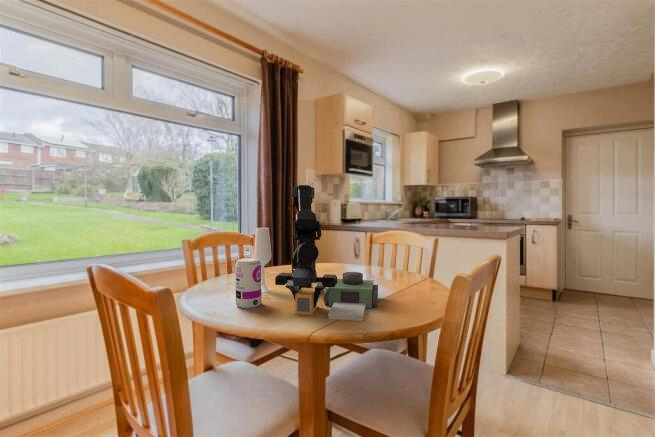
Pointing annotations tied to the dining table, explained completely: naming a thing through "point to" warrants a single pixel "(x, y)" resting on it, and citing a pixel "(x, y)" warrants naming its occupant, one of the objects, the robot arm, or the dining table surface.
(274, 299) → the dining table surface
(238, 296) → the supplement can
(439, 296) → the dining table surface
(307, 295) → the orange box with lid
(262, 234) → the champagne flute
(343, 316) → the green wheeled block
